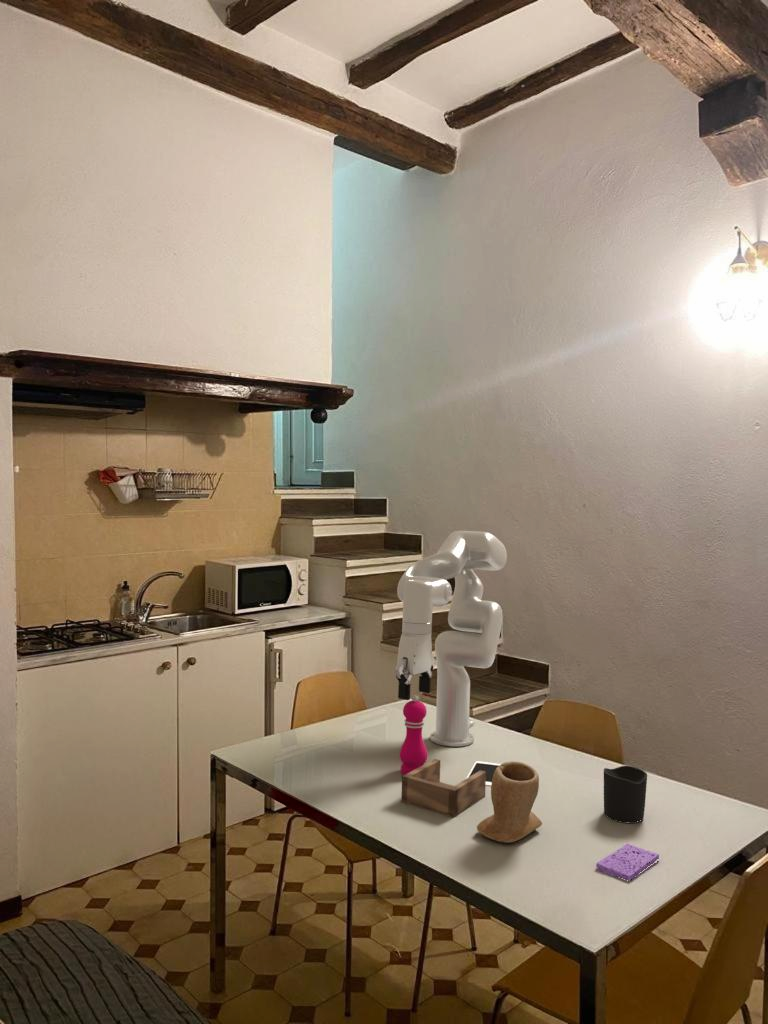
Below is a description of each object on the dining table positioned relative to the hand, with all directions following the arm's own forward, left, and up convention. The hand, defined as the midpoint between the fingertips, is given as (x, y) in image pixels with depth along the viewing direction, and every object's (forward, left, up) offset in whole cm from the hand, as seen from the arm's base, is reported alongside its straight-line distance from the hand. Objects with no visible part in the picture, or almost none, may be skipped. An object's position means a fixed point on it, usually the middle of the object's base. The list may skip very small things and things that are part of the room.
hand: (414, 695), depth 202 cm
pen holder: (-8, +52, -20) cm, 56 cm away
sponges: (+15, +60, -21) cm, 65 cm away
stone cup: (+16, +36, -20) cm, 44 cm away
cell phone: (-12, +15, -21) cm, 28 cm away
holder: (+9, +15, -20) cm, 26 cm away
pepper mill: (-1, 0, -20) cm, 20 cm away
